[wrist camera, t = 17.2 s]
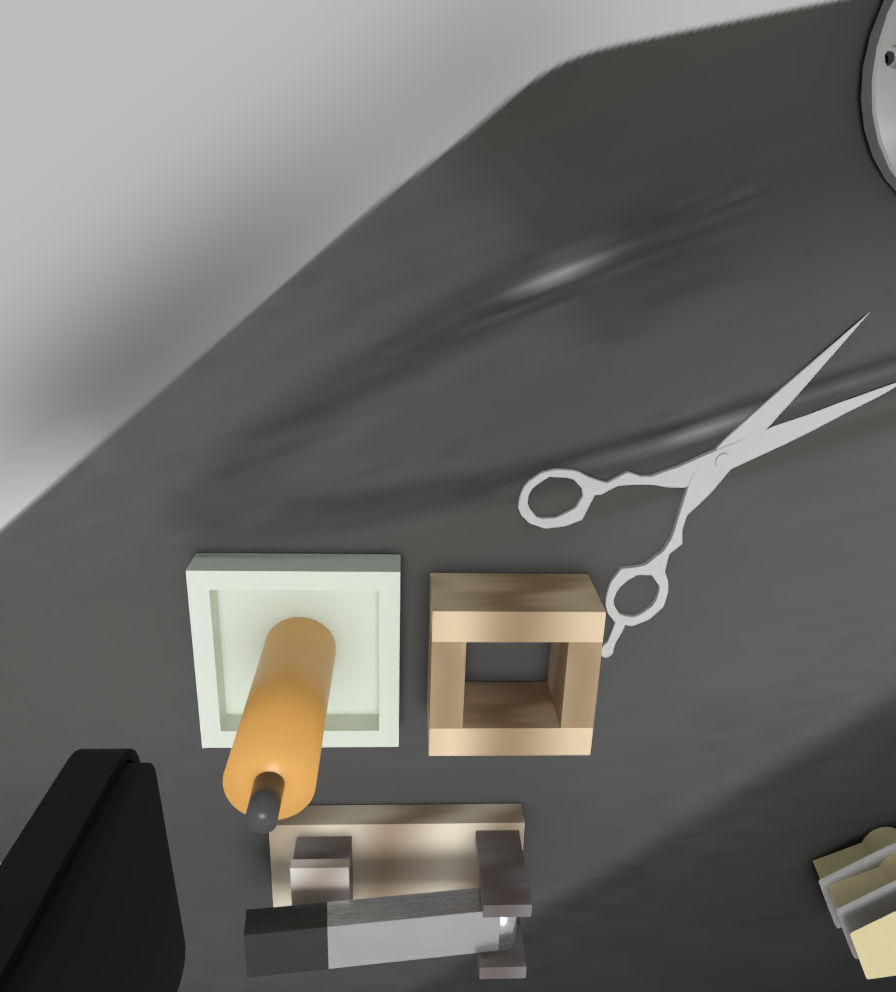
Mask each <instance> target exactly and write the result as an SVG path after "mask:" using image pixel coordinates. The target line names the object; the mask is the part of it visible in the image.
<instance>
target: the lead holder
mask: <svg viewBox="0 0 896 992" xmlns="http://www.w3.org/2000/svg"><path fill="white" fill-rule="evenodd" d="M605 616H606V611H605V609H604V607H603V605H602V603H601V600H600V598H599V596H598V594H597V592H596V590H595V588H594V586H593V584H592V582H591V579H590V577H589V575H588V574H541V573H430V607H429V648H428V689H427V719H428V746H429V756H497V755H590V751H591V742H592V733H593V724H594V715H595V706H596V697H597V688H598V679H599V670H600V661H601V652H602V643H603V634H604V625H605ZM466 642H551V645H550V657H549V668H548V680H547V682H465V661H466Z"/></svg>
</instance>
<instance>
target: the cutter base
mask: <svg viewBox="0 0 896 992" xmlns="http://www.w3.org/2000/svg"><path fill="white" fill-rule="evenodd" d="M524 827H525V821H524V815H523V810H522V805H521V804H413V805H307V806H306V807H305V808H304V809H303V810H302V811H300V812H299V813H297V814H295V815H293V816H291V817H288V818H285V819H280V820H278V821H277V825H276V827H275V829H274V830H273V831H271V832H269V843H270V859H271V875H272V892H273V907H282V906H292V905H303V904H313V903H324V902H334V901H345V900H355V899H365V898H376V897H386V896H397V895H407V894H418V893H428V892H438V891H449V890H459V889H470V888H480V893H481V903H482V913H483V918H489V917H517V928H516V940H515V944H514V945H513V947H511V948H510V949H508V950H505V951H499V950H498V951H488V952H479V953H477V959H478V970H479V979H502V978H526V967H527V966H526V960H525V953H524V947H523V940H522V934H521V927H520V921H519V917H531V910H532V902H531V896H530V890H529V885H528V879H527V873H526V868H525V862H524V856H523V840H524Z"/></svg>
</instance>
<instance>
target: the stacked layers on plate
mask: <svg viewBox="0 0 896 992" xmlns="http://www.w3.org/2000/svg"><path fill="white" fill-rule="evenodd" d="M813 863H814V865H815V868H816V871H817V873H818V876H819V878H820V880H819V885H820V887H821V890H822V892H823V895H824V898H825V900H826V903H827V906H828V908H829V911H830V913H831V916H832V919H833V921H834V924H835V925H836V927H837V928H843V931H844V934H845V936H846V939H847V942H848V944H849V947H850V950H851V952H852V954H853V956H854V958H855V959H859V960H860V963H861V965H862V968H863V971H864V973H865V976H866V978H867V979H874V978H881V977H888V976H895V975H896V829H895V828H892V827H881V828H878V829H875V830H873V831H871V832H870V833H869V834H868V835H867V836H866V837H865V838H864V839H863V841H862V843H859V844H857V845H854V846H851V847H849V848H846V849H843V850H841V851H838V852H835V853H833V854H830V855H827V856H825V857H822V858H819V859H817V860H814V861H813Z"/></svg>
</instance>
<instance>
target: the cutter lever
mask: <svg viewBox="0 0 896 992" xmlns="http://www.w3.org/2000/svg"><path fill="white" fill-rule="evenodd" d="M516 928H517V917H489V918H483V913H482V903H481V893H480V888H470V889H459V890H449V891H438V892H428V893H418V894H407V895H397V896H386V897H376V898H365V899H355V900H345V901H334V902H324V903H313V904H303V905H292V906H282V907H272V908H261V909H251V910H247V911H246V921H245V930H244V943H245V955H246V968H247V977H257V976H266V975H275V974H285V973H294V972H303V971H312V970H322V969H331V968H340V967H349V966H359V965H368V964H377V963H386V962H396V961H405V960H414V959H423V958H433V957H442V956H451V955H461V954H470V953H479V952H488V951H498V950H499V951H505V950H508V949H510V948H511V947H513V945H514V944H515V940H516Z"/></svg>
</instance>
